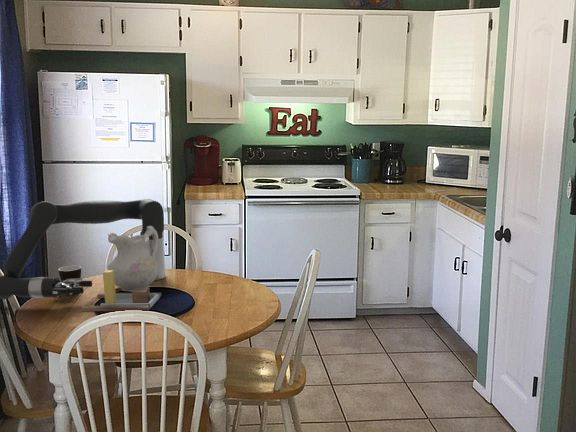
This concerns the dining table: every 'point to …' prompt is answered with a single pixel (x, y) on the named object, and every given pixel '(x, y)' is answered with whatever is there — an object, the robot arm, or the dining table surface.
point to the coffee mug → (70, 273)
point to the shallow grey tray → (121, 299)
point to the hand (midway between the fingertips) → (87, 286)
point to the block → (141, 295)
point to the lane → (113, 308)
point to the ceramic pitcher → (134, 260)
